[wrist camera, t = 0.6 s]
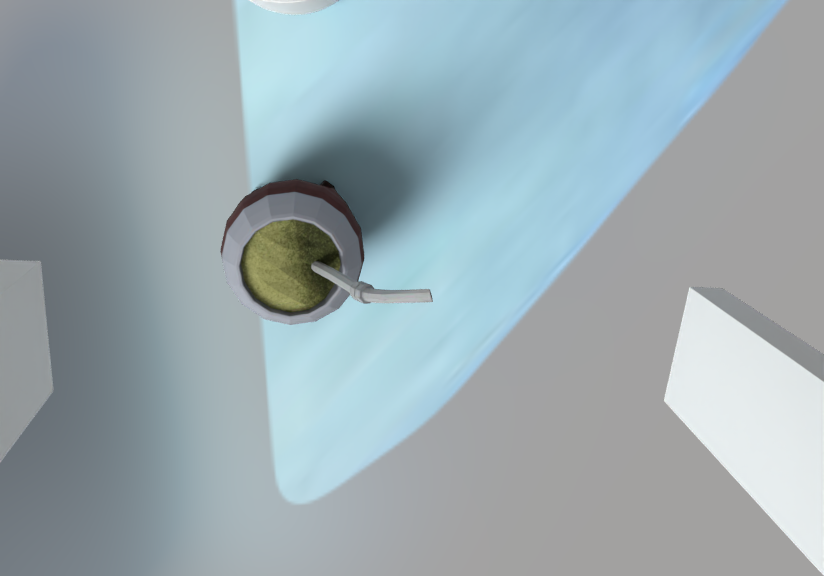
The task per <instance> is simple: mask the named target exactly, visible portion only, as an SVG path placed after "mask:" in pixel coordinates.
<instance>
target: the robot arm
mask: <svg viewBox="0 0 824 576" xmlns="http://www.w3.org/2000/svg"><path fill="white" fill-rule="evenodd" d="M52 392H53V383H52V372H51V363H50V351H49V342H48V331H47V321H46V312H45V301H44V291H43V281H42V270H41V262H40V261H21V260H0V462H1V461H2V459H3V458H4V457H5V455H6V454H7V453H8V451H9V450H10V449H11V447H12V446H13V444H14V443H15V442H16V441H17V439H18V438H19V436H20V435H21V434H22V433H23V431H24V430H25V428H26V427H27V426H28V424H29V423H30V422H31V420H32V419H33V418H34V416H35V415H36V414H37V412H38V411H39V410H40V408H41V407H42V406H43V404H44V403H45V402H46V400H47V399H48V398H49V396H50V395H51V393H52ZM664 401H665V402H666V403H667V405H668V406H669V407H670V408H671V409H672V410H673V411H674V412H675V413H676V414H677V416H678V417H679V418H680V419H681V420H682V421H683V422H684V423H685V424H686V425H687V426H688V428H689V429H690V430H691V431H692V432H693V433H694V434H695V435H696V436H697V438H699V439H700V441H701V442H702V443H703V444H704V445H705V446H706V447H707V448H708V450H710V452H711V453H712V454H713V455H714V456H715V457H716V458H717V459H718V460H719V461H720V463H721V464H722V465H723V466H724V467H725V468H726V469H727V470H728V471H729V473H730V474H731V475H732V476H733V477H734V478H735V479H736V480H737V481H738V482H739V483H740V484H741V486H742V487H743V488H744V489H745V490H746V491H747V492H748V493H749V494H750V496H751V497H752V498H753V499H754V500H755V501H756V502H757V503H758V504H759V505H760V506H761V508H762V509H763V510H764V511H765V512H766V513H767V514H768V515H769V516H770V517H771V519H772V520H773V521H774V522H775V523H776V524H777V525H778V526H779V527H780V528H781V529H782V530H783V532H784V533H785V534H786V535H787V536H788V537H789V538H790V539H791V540H792V542H793V543H794V544H795V545H796V546H797V547H798V548H799V549H800V550H801V551H802V552H803V554H804V555H805V556H806V557H807V558H808V559H809V560H810V561H811V562H812V563H813V565H814V566H815V567H816V568H817V569H818V570H819V571H820V572H821V573H822V574H823V575H824V354H823V353H821V352H820V351H818V350H817V349H815V348H814V347H812V346H810V345H809V344H807V343H806V342H804V341H803V340H801V339H800V338H798V337H797V336H795V335H794V334H792V333H791V332H789V331H787V330H786V329H784V328H782V327H781V326H780V325H778V324H777V323H775V322H774V321H772V320H771V319H769V318H768V317H766V316H764V315H763V314H761V313H760V312H758V311H757V310H755V309H754V308H752V307H751V306H749V305H747V304H746V303H744V302H743V301H741V300H740V299H738V298H737V297H735V296H734V295H732V294H731V293H729V292H727V291H726V290H725V289H723V288H703V287H690V288H689V292H688V296H687V301H686V305H685V309H684V314H683V318H682V323H681V327H680V332H679V336H678V341H677V345H676V349H675V354H674V358H673V363H672V367H671V371H670V376H669V380H668V385H667V389H666V394H665V398H664Z"/></svg>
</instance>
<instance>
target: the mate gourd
mask: <svg viewBox="0 0 824 576" xmlns="http://www.w3.org/2000/svg"><path fill="white" fill-rule="evenodd" d="M221 256H222V261H223V266H224V271H225V276H226V280H227V283H228V285H229V286H230V288H231V289H232V290H233V292H234V293H235V295H236V296H237V298H238V299H239V300H240V302H241V303H242V305H244V306H245V307H247V308H249V309H250V310H251V311H253V312H255V313H256V314H258V315H259V316H261V317H262V318H264V319H266V320H271V321H275V322H280V323H284V324H289V325H293V324H300V323H307V322H314V321H317V320H319V319H321V318H323V317H324V316H326V315H328V314H330V313H332V312H333V311H335V310H337V309H339V308H340V306H341V305H342V304H343V303H344V301H345V300H346V299H347V298H348V296H349V295H351V296H352V297H353V298H354V299H355V300H357V301H359V302H361V303H371V302H375V303H415V302H433V300H432V295H431V292H430V290H429V289H420V290H380V289H374V288H373V286H372V285H370V284H366V283H364V282H362V281H360V282H358V279H359V276H360V272H361V269H362V265H363V261H364V250H363V242H362V234H361V228H360V226H359V224H358V223H357V221H356V219H355V217H354V216H353V214H352V212H351V210H350V209H349V207H348V205H347V204H346V202H345V201H344V200H343V199H342V198H341V196H340V195H339V194H338V193H337V192H336V190H335V188H334V186H333V185H332V184H330V183H329V182H327V181H323V182H322V183H321V184H320V185H318V184H314V183H310V182H306V181H302V180H298V179H295V180H288V181H280V182H273V183H269V184H267V185H265V186H263V187H262V188H260V189H256V190H254V191H252V193H251V194H249V195H247V196H245V197H244V198H243V199H242V201H241V202H240V203H239V204H238V206H237V207H236V209H235V211H234V212H233V213H232V215H231V216H230V217H229V219H228V220H227V223H226V228H225V232H224V237H223V241H222V246H221Z"/></svg>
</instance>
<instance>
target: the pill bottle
mask: <svg viewBox="0 0 824 576" xmlns="http://www.w3.org/2000/svg"><path fill="white" fill-rule="evenodd" d="M249 1H251V2H253V3H254V4H256V5H258V6H260V7H262V8H264V9H267V10H269V11H272V12H276V13H281V14H287V15H303V14H309V13H314V12H317V11H320V10H323V9H325V8H327V7H329V6H331V5H333V4H334V3H336V2H337V1H339V0H249Z"/></svg>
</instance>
